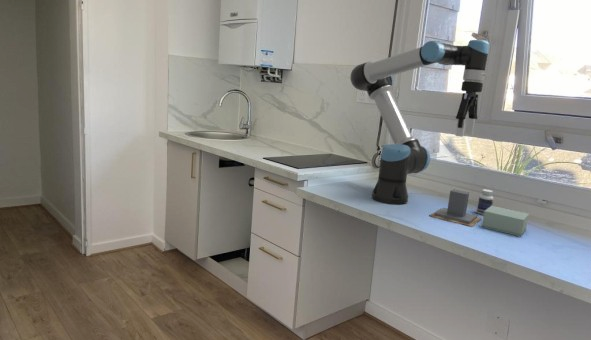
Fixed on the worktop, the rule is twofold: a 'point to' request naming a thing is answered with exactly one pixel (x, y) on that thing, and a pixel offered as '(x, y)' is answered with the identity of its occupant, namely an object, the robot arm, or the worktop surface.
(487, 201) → the pill bottle
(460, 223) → the plate
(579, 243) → the worktop surface
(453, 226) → the worktop surface
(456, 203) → the lid
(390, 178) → the robot arm
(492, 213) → the sage green block
